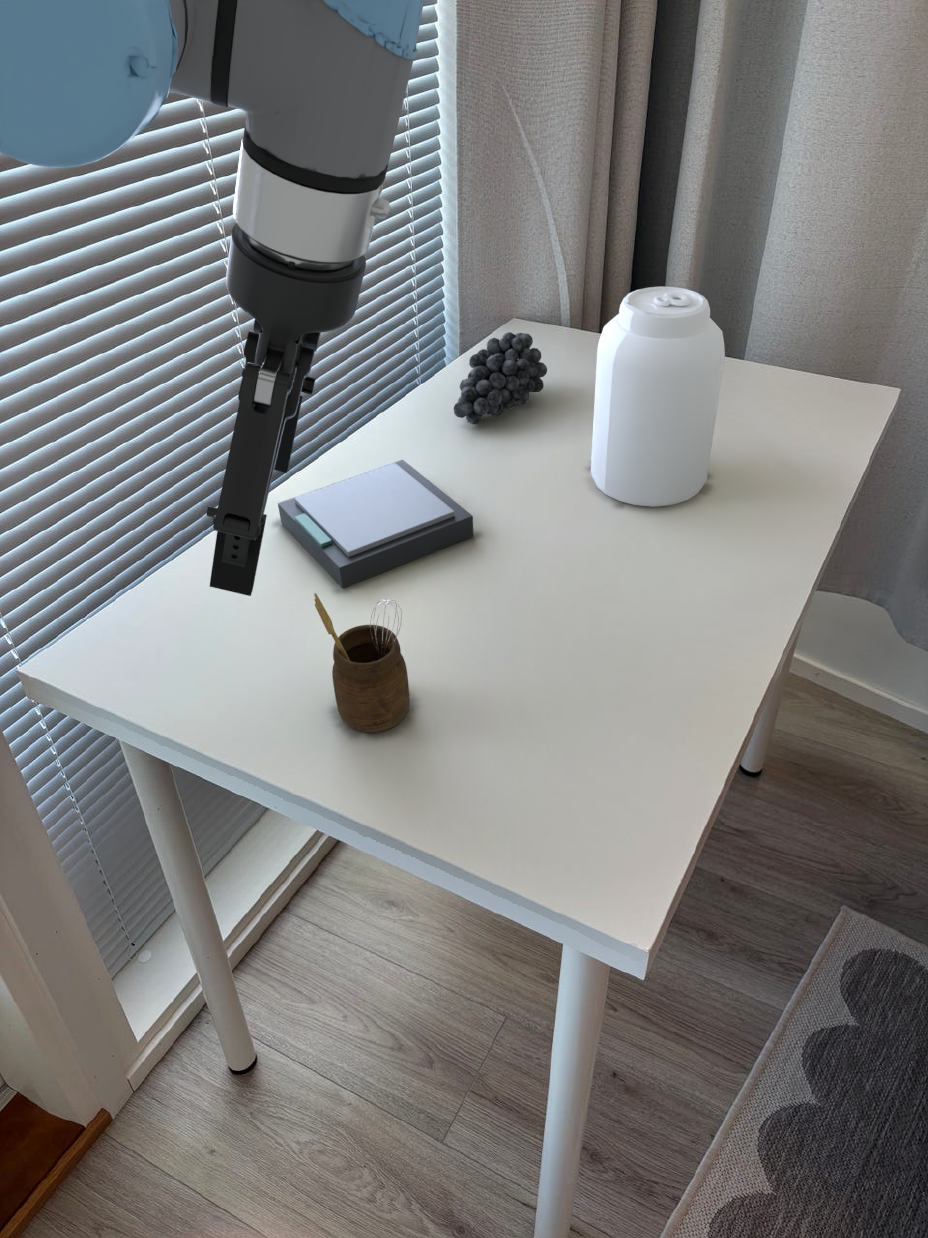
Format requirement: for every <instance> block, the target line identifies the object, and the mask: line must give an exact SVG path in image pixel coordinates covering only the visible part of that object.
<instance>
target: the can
mask: <svg viewBox="0 0 928 1238" xmlns="http://www.w3.org/2000/svg"><path fill="white" fill-rule="evenodd" d="M601 331H602V332H601V334H600V337H599V340H598V345H597V350H596V368H595V386H594V402H593V403H594V404H593V423H592V439H591V442H592V443H591V456H590V457H591V459H590V475H591V477H592V480H593V482H594V485H595V486H596V487H597V488H598V490H600V491H601V492H602V493H603V494H605V495H606V496H607V497H610V498H612V499H614V500H616V501H619V502H622V503H626V504H630V505H633V506H642V507H662V506H663V507H664V506H665V507H666V506H673V505H676V504H679V503H683V502H686V501H689V500H690V499H692V498H693V497H694V496H696V495H698V494H699V493H700V491H701V489H702V488H703V487H704V485H705V483H707V481H708V473H709V467H710V459H711V452H712V447H713V439H714V434H715V433H714V432H715V426H716V419H717V413H718V404H719V398H720V392H721V385H722V376H723V371H724V363H725V357H726V350H725V349H726V348H725V347H726V346H725V342H724V341H725V340H724V333H723V330H722V329H721V328H720V327H719V326H718V325H717V323H715V321H714V320H713V319H712V318H711V307H710V304H709V301H708V299H707V298H706V297H705V296H704V295H703V294H700V293H698V292H696V291H694V290H691V289H687V288H684V287H676V286H662V285H661V286H650V287H644V288H640V289H636V290H634V291H631V292H629V293H627V294H626V295H625V296H624V297H623V299H622V301H621V303H620V305H619V309H618V314H616V315H615V316H614V317H613V318H612V319H610V320H609V321H608V322H607V323H605V325H604V326H603V328H602V330H601Z"/></svg>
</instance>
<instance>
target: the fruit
mask: <svg viewBox="0 0 928 1238" xmlns="http://www.w3.org/2000/svg"><path fill="white" fill-rule="evenodd" d="M533 340H534V339H533V337H532V335H530V333H524V332H523V333H522V332H518V333H515V334H514V333H513V332H510V331H509V332H506V333H504V334H503V336H502V337H501V338H500V339H499V338H497V337H492V338H490V339H489V340H488V341H487V343H486V348H482V349H480V350H479V351H477V353H474V354H472V355H471V356H470V357H469V364H468V365H469V366H470V368H471V370H470V372H469V373H468V374H467V378H465V379H462V380H461V382H460V384H459V389H460V391H461V392H460V397H459V398H458V399H457V402H456V403H454V406H453V413H454V415H455V416H456V417H457V418H460V419H463V418H466V421H467V423H469V424H471V425H479V424H480V423H481V421H482V418H483V416H484V415H486V414H488V415H492V416H493V417H496V418H498V417H501V416H502V415H503V413H505V410H504V408H505V409H508V410H511V409H513V408H514V407H516V404H517V405H526V404H527V403H528V402H529V400H530V393H541V391H542V390H543V389H544V380H543V379H542V378H544V377H545V376H546V375H547V374H548V367H547V365H546V364H545V363H544V362H541V359H542V352H541V350H539V349H538V348H537V347H532V345H533V343H534V341H533ZM531 347H532V348H531Z"/></svg>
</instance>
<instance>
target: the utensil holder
mask: <svg viewBox="0 0 928 1238" xmlns="http://www.w3.org/2000/svg"><path fill="white" fill-rule="evenodd" d="M313 595H314V599H313V600H314V602H315V603H314V607H315V609H316V611H317V613H318V615H319V617H320V620H321V622H322V623H323V625H324V628H325V630H326V632H327V634H328V635H331V637H332V639H333V641H334V644H333V650H332V659H333V665H332V669H331V672H332V673H331V674H332V675H331V676H332V685H333V692H334V697H335V702H336V707H337V711H338V714H339V716H340V718H341V719H342V721H343V722H344V723H345V725H347V726H348V727H350V728H351V729H352V730H355V731H358V732H363V733H380V732H385V731H387V730H390V729H392V728H393V727H395V726H397V725H398V724H399V723H401V722H402V721H403V719H405V717H406V715H407V713H408V711H409V708H410V685H409V677H408V670H407V668H408V667H407V664H406V661H405V658H404V656H403V654H402V652H401V651H402V650H401V645H400V641H399V639H398V635H399V633H400V630H401V626H402V623H400V622H402V620H403V610H402V608H401V606H400V605H399V604H397V602H396V601H395V600H394V599H391V600H390V599H386V600H385V599H380V600H378V601H377V602H376V604H375V606H374V607H373V610H372V612H371V617H370V620H373V619H372V618H373V617H375V616H376V615H375V614H376V609H377V607H378V606H380V605H381V604H384V603H385V604H384V605H383V606H382V607H381V609H380V611H379V613H378V615H377V619H376V622H378V620H379V617H380V614H381V612H382V610H383V609H386V606H387V604H388V606H390V604H391V606H392V607H393V608H394V610H395V614H394V619H396V617H397V625H399V627H396V634H395V633H394V632H393V630H394V627H395V623H396V620H394V621H393V625H392V629H391V630H390V629H389V627H385V625H384V624H385V619H383V621H382V625H378V623H376V624H372V621H370V623H369V624H362V625H357V626H354V627H351V628H349V629H347V630H345V631H343V632H342V633H341V634H340V635H337V633H336V631H335V629H334V625H333V621H332V618H331V617H330V615H329V613H328V611H327V610H326V608H325V606H324V605H323V603H322V601H321V598H320V597H319V595H318V594H317V593H316V592H314V593H313ZM381 601H382V602H381ZM379 602H380V603H379ZM394 604H395V606H394ZM398 608H399V609H400V611H401V613H400V615H401V616H400V617H399V612H398V610H397V609H398ZM385 615H386V610H384V612H383V617H385ZM389 623H390V617H388V619H387V625H389ZM399 623H400V624H399Z"/></svg>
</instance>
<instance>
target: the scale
mask: <svg viewBox="0 0 928 1238" xmlns="http://www.w3.org/2000/svg"><path fill="white" fill-rule="evenodd" d="M277 507H278V513H279V517H280V523H281V524H282V526H283V527H284V528H285V529H286V530H287V531H288V532H289V533H290V534H291V536H293V537H294V539H295V540H296V541H297V542H298V543H299V544H300V545H301V546H302V547H303V548H304V549H305V550H306V551H307V552H308V553H309V554H310V555H311V557H312V558H314V560H315V561H316V562H317V563H318V564H319V566H321V568H323V570H324V571H325V572H326V573H327V574H328V575H329V576H330V577H331V578H332V579H333V581H335V582H336V584H338V586H339V587H340V588H341V589H342V590H343V589H346V588H349V587H351V586H353V585H356V584H359V583H361V582H363V581H366V580H369V579H371V578H373V577H376V576H378V575H381V574H384V573H387V572H388V571H391V570H393V569H395V568H398V567H401V566H404V565H406V564H408V563H411V562H413V561H416V560H418V559H421V558H423V557H426V556H428V555H431V554H433V553H436V552H438V551H440V550H443V549H446V548H448V547H451V546H453V545H456V544H458V543H460V542H463V541H465V540H468V539H470V538H473V537H474V535H475V534H474V516H473V515H472V514H471V513H470V512H468V510H466V509H465V508H464V507H462V506H461V505H460V504H459V503H457V502H456V501H455V500H454V499H453V498H451V497H450V496H449V495H448V494H446V493H445V492H444V491H443V490H442V489H440V488H439V487H437V486H436V485H435V484H434V483H432V482H431V480H429V479H427V478H426V477H425V476H424V475H423V474H421V473H420V472H419V471H418V470H416V468H414V467H413V466H411V465H410V464H409V463H407V462H406V461H405V460H404V459H400V460H398V461H395V462H391V463H389V464H386V465H383V466H380V467H378V468H375V469H372V470H369V471H366V472H363V473H360V474H358V475H355V476H352V477H349V478H346V479H343V480H341V481H338V482H334V483H332V484H329V485H326V486H323V487H321V488H320V487H319V488H317V489H315V490H312V491H309V492H306V493H303V494H300V495H298V496H294V497H291V498H289V499H286V500H283V501H280V502H278V503H277Z"/></svg>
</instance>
